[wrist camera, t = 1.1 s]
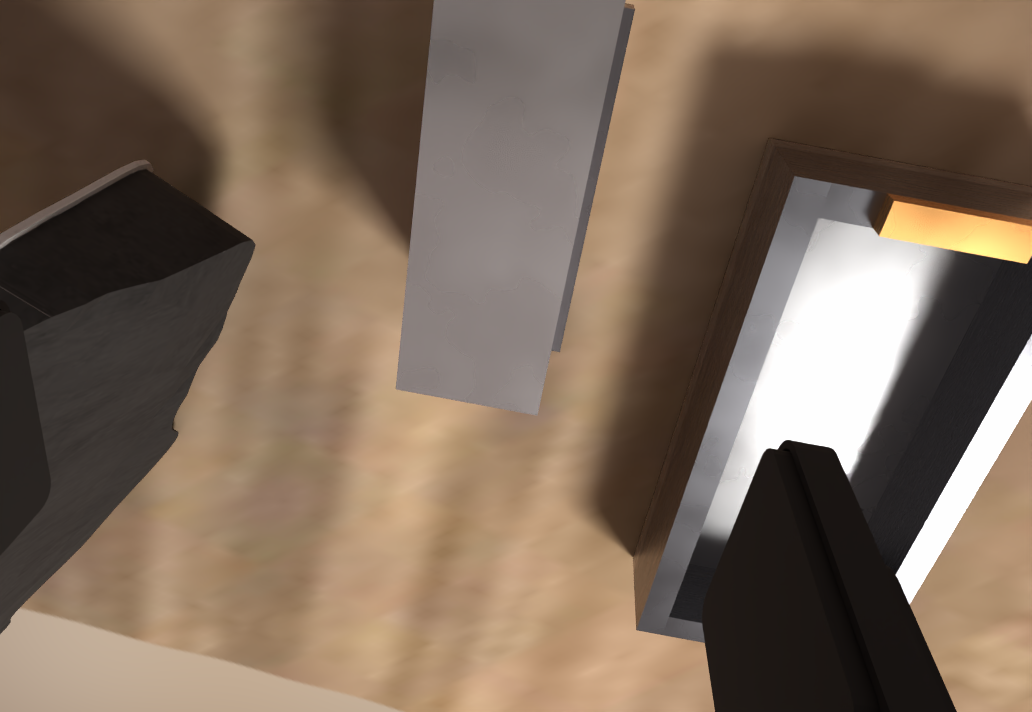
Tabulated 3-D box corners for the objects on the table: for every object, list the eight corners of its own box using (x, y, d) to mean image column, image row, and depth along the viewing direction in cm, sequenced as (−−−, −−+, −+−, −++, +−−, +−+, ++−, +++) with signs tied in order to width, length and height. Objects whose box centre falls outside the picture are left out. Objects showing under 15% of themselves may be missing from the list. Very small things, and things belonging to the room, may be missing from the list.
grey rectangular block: (640, -77, 22) (654, -63, 16) (559, 304, 28) (548, 417, 22) (487, -105, 22) (443, -103, 16) (439, 282, 28) (395, 389, 22)
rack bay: (1057, 191, 25) (1140, 246, 21) (842, 597, 34) (873, 686, 30) (769, 137, 25) (799, 183, 21) (633, 558, 34) (637, 642, 30)
